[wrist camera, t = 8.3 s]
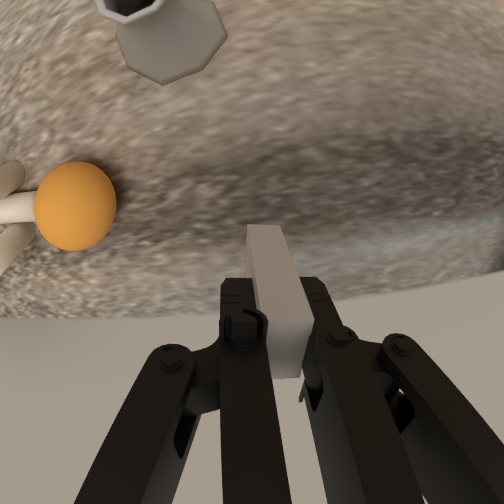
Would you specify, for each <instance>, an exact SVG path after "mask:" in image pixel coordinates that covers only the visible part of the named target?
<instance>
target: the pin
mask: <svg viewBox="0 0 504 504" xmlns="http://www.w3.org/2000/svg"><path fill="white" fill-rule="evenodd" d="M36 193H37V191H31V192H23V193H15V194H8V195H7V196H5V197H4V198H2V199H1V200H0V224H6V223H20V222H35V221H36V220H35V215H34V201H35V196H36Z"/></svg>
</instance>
